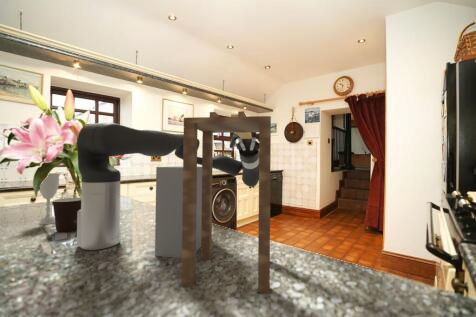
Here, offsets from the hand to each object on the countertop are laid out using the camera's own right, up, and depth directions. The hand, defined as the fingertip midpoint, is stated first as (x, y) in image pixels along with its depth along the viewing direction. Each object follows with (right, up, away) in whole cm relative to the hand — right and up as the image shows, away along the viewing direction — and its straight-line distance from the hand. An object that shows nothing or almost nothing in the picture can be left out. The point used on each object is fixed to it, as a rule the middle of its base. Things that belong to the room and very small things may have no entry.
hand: (245, 127), depth 75 cm
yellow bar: (-1, -3, -7) cm, 8 cm away
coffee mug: (-58, -34, +3) cm, 68 cm away
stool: (-4, -34, -27) cm, 43 cm away
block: (-17, -34, -13) cm, 40 cm away
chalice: (-73, -34, +10) cm, 81 cm away
